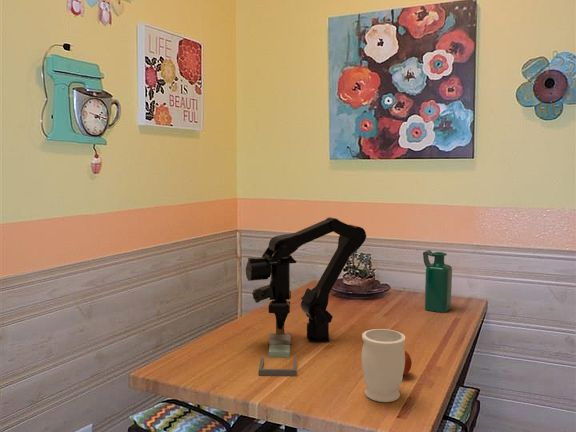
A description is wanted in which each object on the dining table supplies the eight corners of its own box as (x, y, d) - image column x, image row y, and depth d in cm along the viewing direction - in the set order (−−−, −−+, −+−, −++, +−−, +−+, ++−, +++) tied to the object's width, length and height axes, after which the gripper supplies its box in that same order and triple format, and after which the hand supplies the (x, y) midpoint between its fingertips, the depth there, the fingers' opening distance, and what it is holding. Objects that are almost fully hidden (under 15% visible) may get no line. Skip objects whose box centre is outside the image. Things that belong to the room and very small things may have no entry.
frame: (296, 362, 150) (296, 357, 150) (296, 375, 141) (296, 370, 141) (260, 362, 150) (260, 356, 150) (258, 375, 141) (258, 370, 141)
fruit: (379, 372, 143) (380, 343, 142) (401, 368, 146) (401, 340, 145) (394, 382, 137) (395, 352, 136) (416, 378, 140) (417, 348, 139)
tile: (289, 351, 160) (289, 344, 160) (289, 358, 154) (289, 352, 154) (270, 350, 160) (270, 344, 160) (268, 358, 154) (268, 351, 154)
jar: (356, 386, 135) (357, 328, 133) (396, 385, 135) (398, 327, 134) (366, 406, 124) (367, 343, 122) (409, 404, 125) (411, 342, 123)
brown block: (290, 340, 166) (290, 312, 165) (290, 344, 162) (290, 316, 161) (270, 339, 166) (270, 312, 165) (269, 344, 162) (269, 316, 161)
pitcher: (451, 308, 204) (454, 251, 201) (445, 313, 196) (447, 255, 194) (426, 304, 209) (428, 249, 206) (419, 309, 202) (421, 252, 199)
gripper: (256, 271, 172) (256, 318, 174) (251, 285, 154) (251, 337, 155) (291, 271, 172) (290, 318, 174) (289, 285, 153) (289, 337, 155)
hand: (280, 327), depth 164 cm, fingers closed on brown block, 2 cm apart
